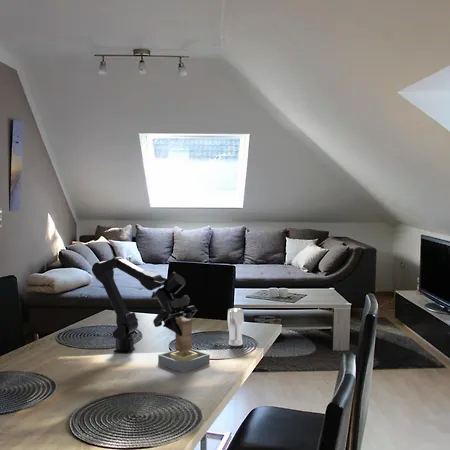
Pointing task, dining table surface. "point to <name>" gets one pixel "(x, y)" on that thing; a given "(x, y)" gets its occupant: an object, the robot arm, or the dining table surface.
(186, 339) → the post
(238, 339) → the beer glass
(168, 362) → the housing
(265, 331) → the dining table surface
